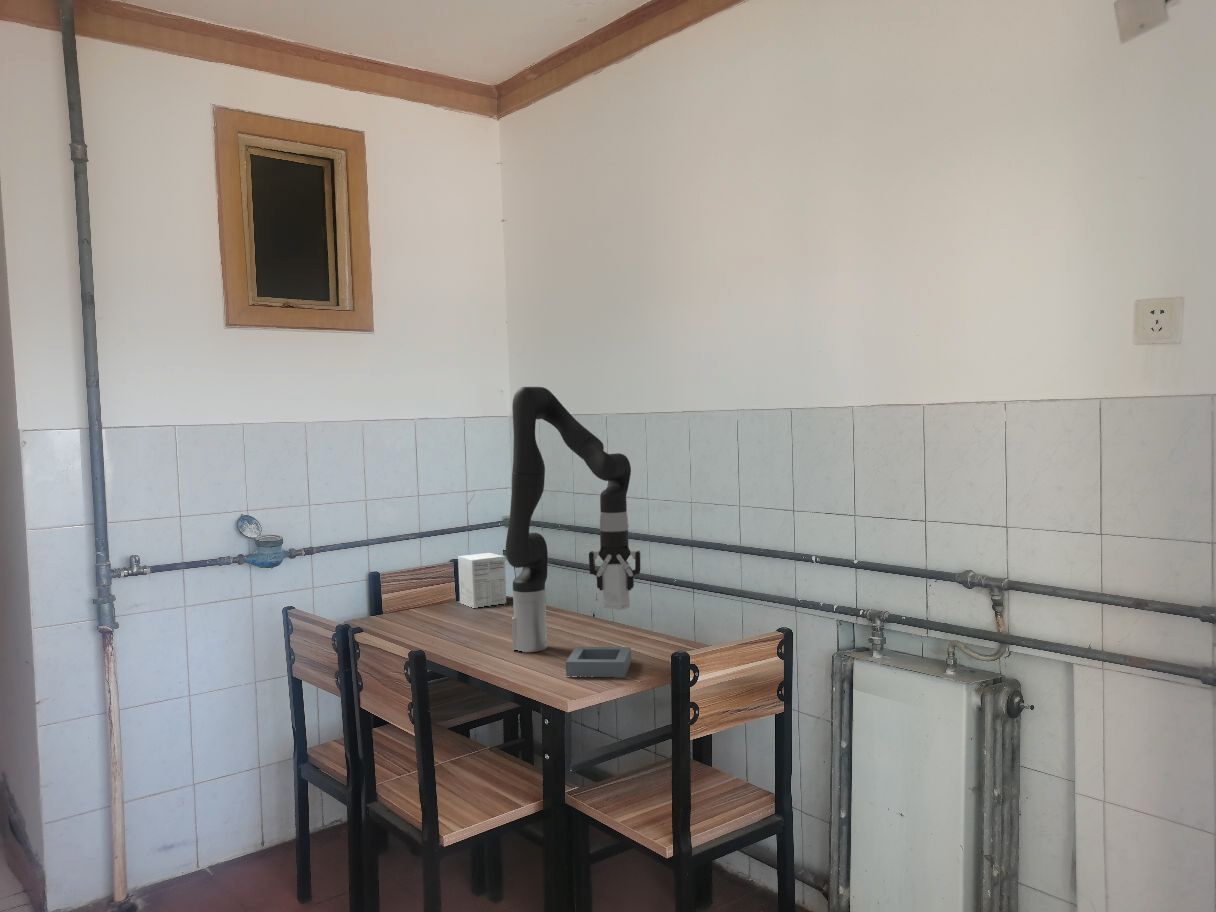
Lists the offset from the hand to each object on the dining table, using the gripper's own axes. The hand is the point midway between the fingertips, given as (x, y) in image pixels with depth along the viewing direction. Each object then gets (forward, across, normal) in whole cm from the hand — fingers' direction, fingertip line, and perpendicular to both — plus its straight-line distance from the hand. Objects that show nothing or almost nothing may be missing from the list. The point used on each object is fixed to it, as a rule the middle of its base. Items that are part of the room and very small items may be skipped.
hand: (615, 589), depth 242 cm
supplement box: (+21, -57, +80) cm, 100 cm away
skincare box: (+5, 0, 0) cm, 5 cm away
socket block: (+20, -4, -7) cm, 21 cm away
